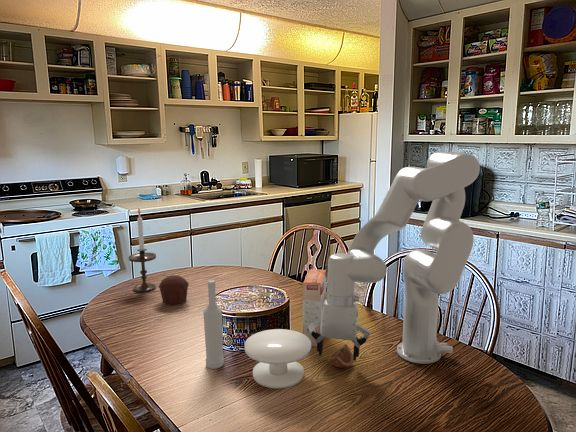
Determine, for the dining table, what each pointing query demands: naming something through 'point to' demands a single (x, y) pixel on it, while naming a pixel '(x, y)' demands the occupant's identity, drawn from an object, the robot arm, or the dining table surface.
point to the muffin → (174, 290)
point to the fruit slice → (341, 357)
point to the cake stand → (278, 357)
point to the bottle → (213, 330)
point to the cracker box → (313, 300)
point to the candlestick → (142, 260)
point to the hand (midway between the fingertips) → (337, 356)
